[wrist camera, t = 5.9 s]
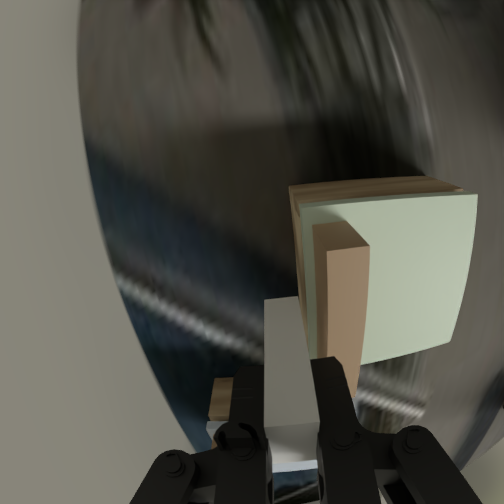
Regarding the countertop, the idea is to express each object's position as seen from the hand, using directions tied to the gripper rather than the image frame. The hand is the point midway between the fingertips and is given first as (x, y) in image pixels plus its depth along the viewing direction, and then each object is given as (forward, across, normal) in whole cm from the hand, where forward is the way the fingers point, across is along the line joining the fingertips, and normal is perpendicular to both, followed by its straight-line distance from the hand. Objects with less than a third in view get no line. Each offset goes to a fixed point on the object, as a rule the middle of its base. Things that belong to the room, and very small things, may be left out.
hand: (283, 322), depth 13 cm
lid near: (+2, +6, 0) cm, 7 cm away
